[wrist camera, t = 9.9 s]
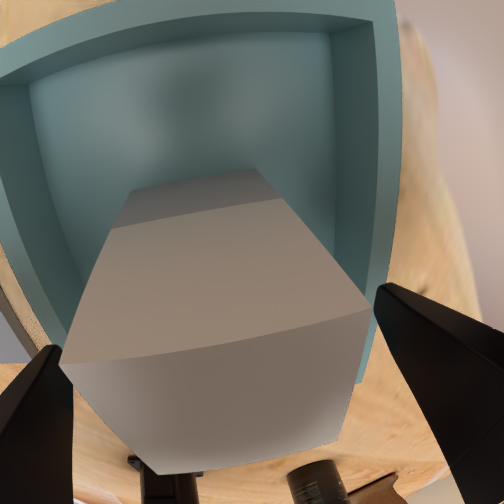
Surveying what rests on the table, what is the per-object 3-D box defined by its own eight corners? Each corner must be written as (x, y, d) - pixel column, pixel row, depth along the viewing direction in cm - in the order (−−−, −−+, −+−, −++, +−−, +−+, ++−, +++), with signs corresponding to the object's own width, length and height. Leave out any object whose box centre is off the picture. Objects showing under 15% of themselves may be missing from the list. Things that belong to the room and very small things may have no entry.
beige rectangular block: (255, 168, 12) (372, 307, 4) (265, 273, 14) (337, 440, 7) (130, 190, 11) (58, 365, 4) (159, 293, 14) (158, 474, 6)
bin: (335, 336, 19) (361, 382, 15) (121, 376, 17) (117, 429, 14) (340, 18, 10) (393, 0, 6) (16, 71, 8) (-38, 72, 5)
